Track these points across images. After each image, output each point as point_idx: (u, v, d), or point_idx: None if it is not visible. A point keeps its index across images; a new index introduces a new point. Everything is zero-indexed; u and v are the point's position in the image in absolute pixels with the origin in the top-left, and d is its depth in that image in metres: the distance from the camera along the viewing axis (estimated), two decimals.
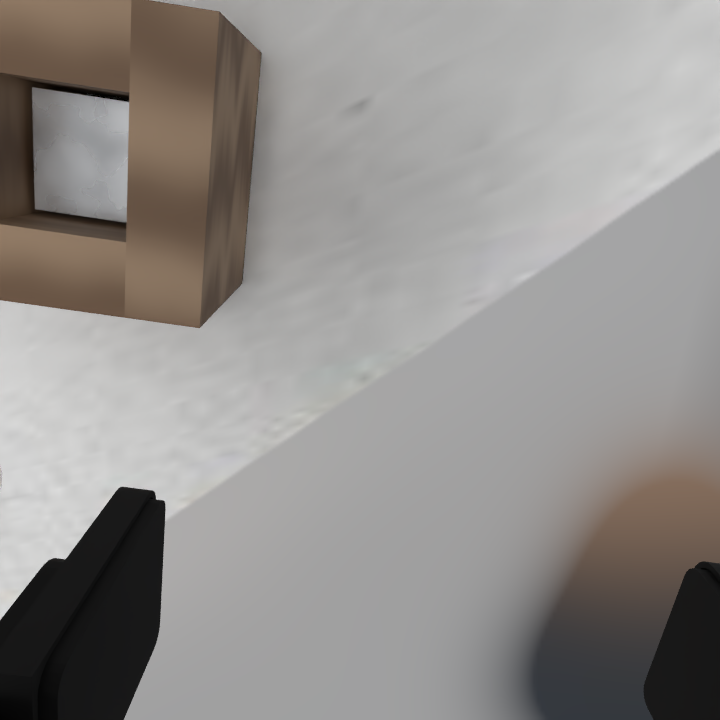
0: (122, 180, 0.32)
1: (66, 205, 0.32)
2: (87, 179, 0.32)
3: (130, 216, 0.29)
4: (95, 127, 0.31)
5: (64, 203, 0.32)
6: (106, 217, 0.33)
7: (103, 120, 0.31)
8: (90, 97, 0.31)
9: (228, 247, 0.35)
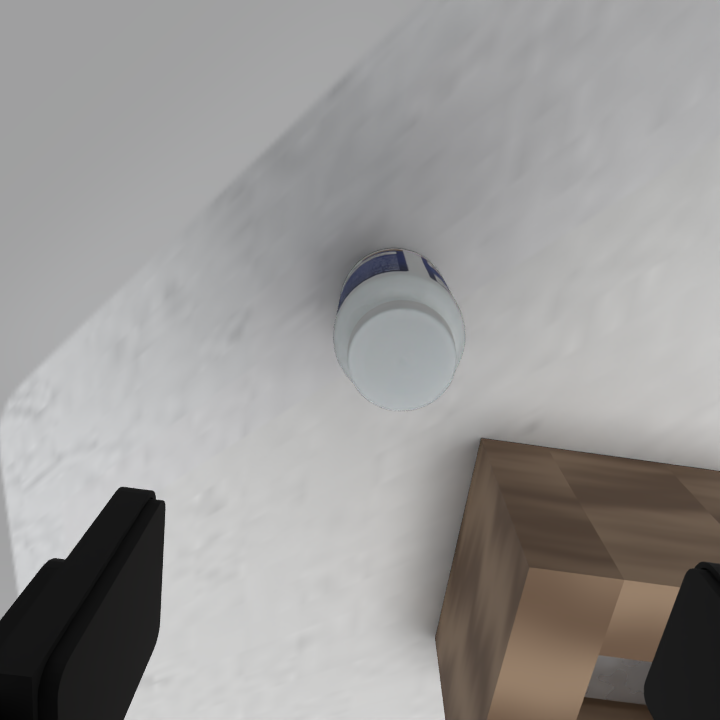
0: (645, 670, 0.30)
1: None
2: (607, 668, 0.30)
3: None
4: None
5: None
6: (617, 699, 0.30)
7: None
8: None
9: None
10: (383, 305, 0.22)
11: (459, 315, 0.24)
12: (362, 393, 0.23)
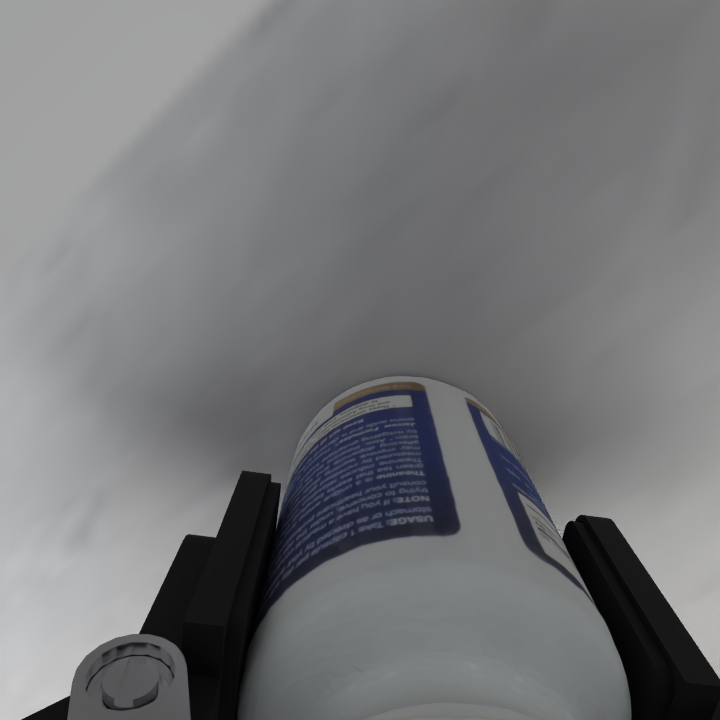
0: None
1: None
2: None
3: None
4: None
5: None
6: None
7: None
8: None
9: None
10: None
11: (622, 678, 0.08)
12: None
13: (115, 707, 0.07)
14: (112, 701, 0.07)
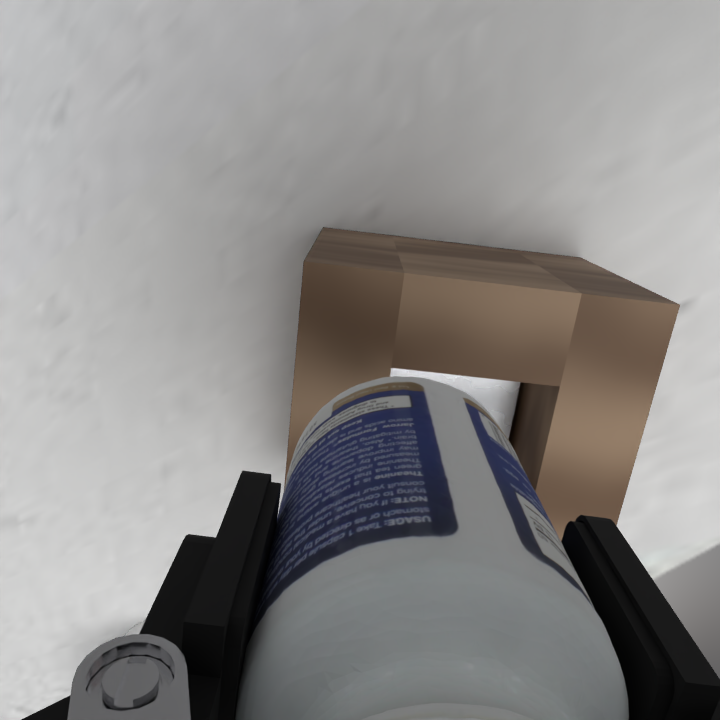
0: None
1: None
2: None
3: None
4: (457, 383, 0.28)
5: None
6: None
7: None
8: None
9: None
10: None
11: (619, 678, 0.08)
12: None
13: (115, 707, 0.07)
14: (112, 701, 0.07)
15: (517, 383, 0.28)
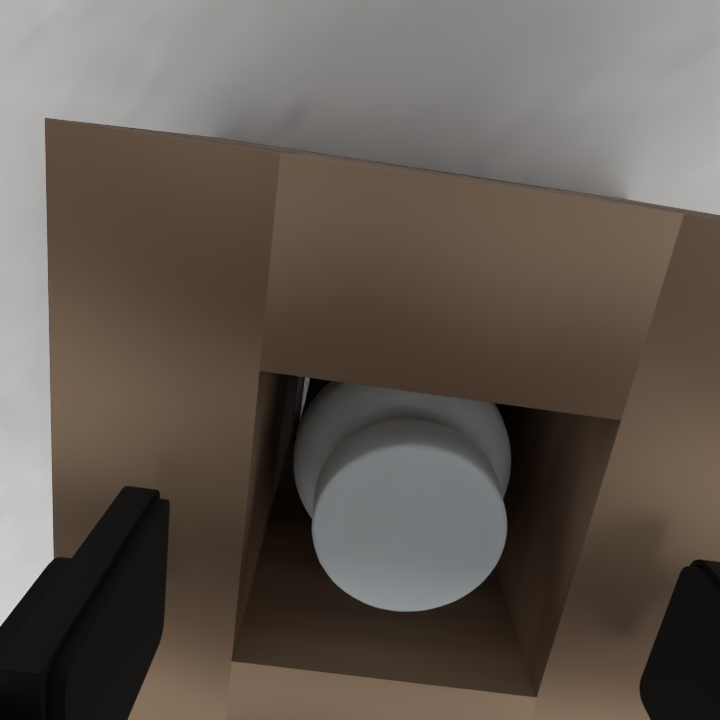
0: None
1: None
2: None
3: (559, 653, 0.13)
4: None
5: None
6: None
7: None
8: None
9: None
10: (375, 431, 0.12)
11: (503, 431, 0.14)
12: (339, 584, 0.13)
13: None
14: None
15: None
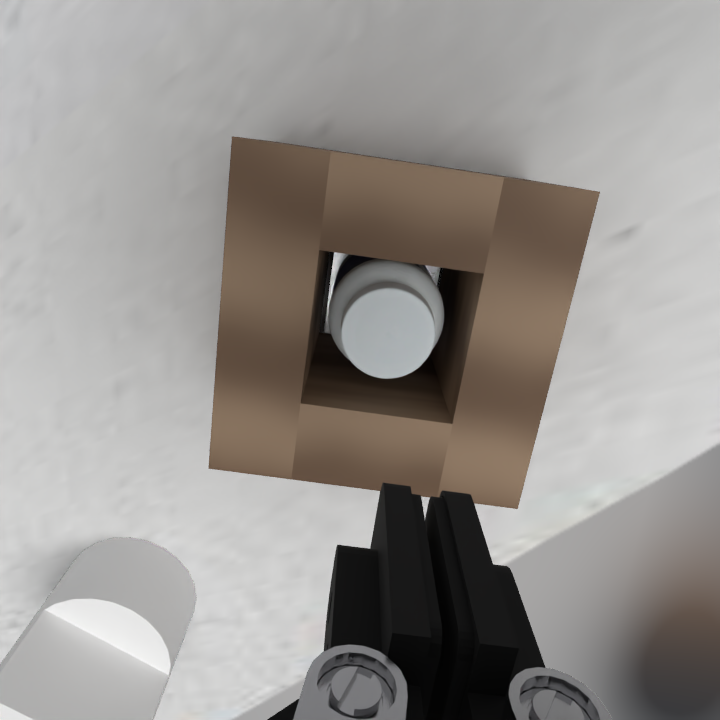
0: None
1: None
2: None
3: (462, 398, 0.26)
4: None
5: None
6: None
7: None
8: None
9: None
10: (371, 286, 0.26)
11: (438, 296, 0.27)
12: (354, 363, 0.26)
13: (338, 710, 0.07)
14: (337, 703, 0.07)
15: None
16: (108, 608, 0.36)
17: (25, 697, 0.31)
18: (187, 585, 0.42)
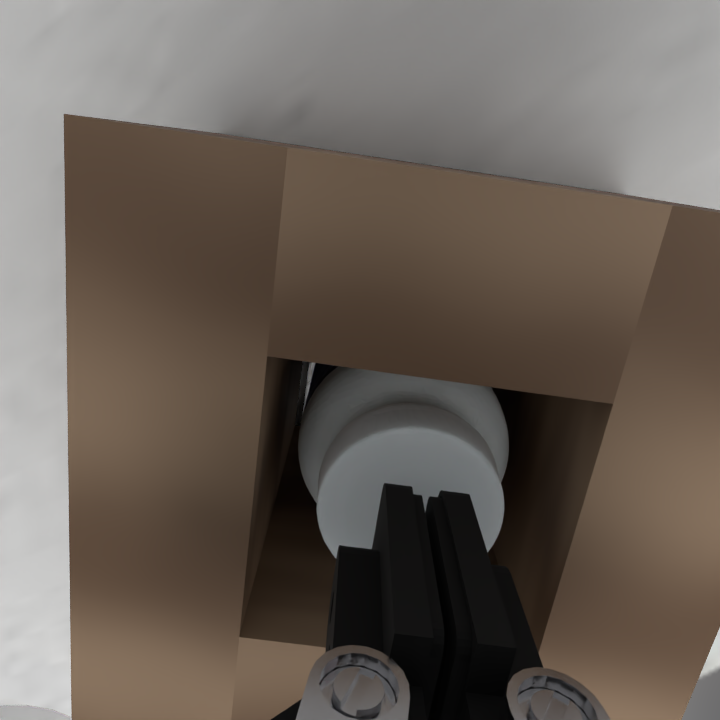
0: None
1: None
2: None
3: (554, 630, 0.13)
4: None
5: None
6: None
7: None
8: None
9: None
10: (377, 415, 0.13)
11: (501, 417, 0.15)
12: None
13: (340, 710, 0.07)
14: (339, 703, 0.07)
15: None
16: None
17: None
18: None
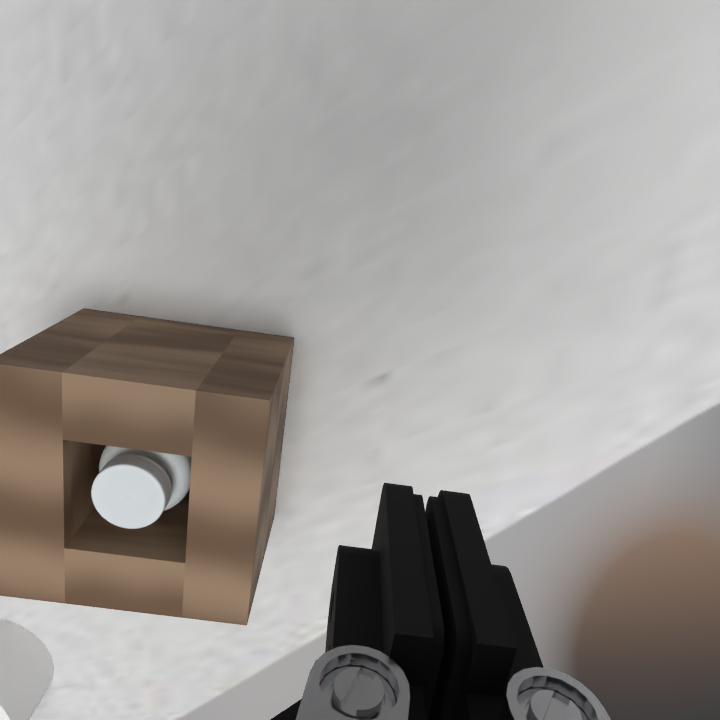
0: None
1: None
2: None
3: (189, 544, 0.33)
4: None
5: None
6: None
7: None
8: None
9: (266, 521, 0.39)
10: (116, 459, 0.33)
11: (183, 457, 0.35)
12: (104, 517, 0.33)
13: (340, 710, 0.07)
14: (339, 704, 0.07)
15: None
16: None
17: None
18: (42, 658, 0.49)
